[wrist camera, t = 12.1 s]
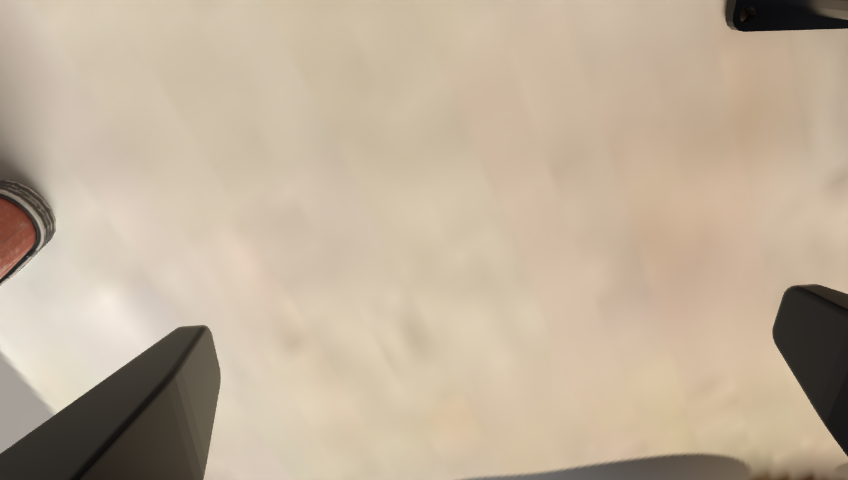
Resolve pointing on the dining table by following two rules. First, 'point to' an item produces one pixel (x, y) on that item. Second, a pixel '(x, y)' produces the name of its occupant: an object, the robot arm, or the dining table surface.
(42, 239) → the lighter
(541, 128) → the dining table surface
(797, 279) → the dining table surface
